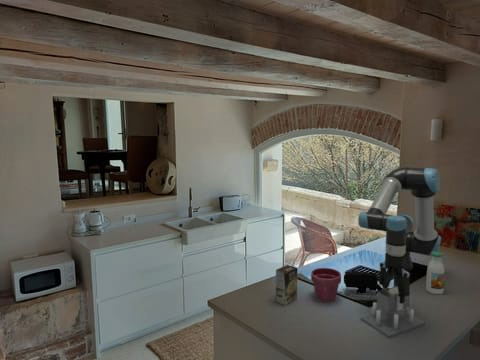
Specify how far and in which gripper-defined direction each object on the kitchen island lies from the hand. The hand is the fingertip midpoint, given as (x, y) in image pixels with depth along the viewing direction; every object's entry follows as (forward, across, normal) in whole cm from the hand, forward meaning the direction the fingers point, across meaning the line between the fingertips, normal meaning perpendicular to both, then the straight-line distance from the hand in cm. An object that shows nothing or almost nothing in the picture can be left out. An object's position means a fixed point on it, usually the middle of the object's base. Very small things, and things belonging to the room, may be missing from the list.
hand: (393, 306), depth 146 cm
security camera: (+7, -26, +9) cm, 28 cm away
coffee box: (+7, -37, -29) cm, 48 cm away
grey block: (0, 0, 0) cm, 1 cm away
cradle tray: (+7, 0, 0) cm, 7 cm away
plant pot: (+7, -30, -11) cm, 33 cm away
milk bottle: (+7, -10, +41) cm, 43 cm away
